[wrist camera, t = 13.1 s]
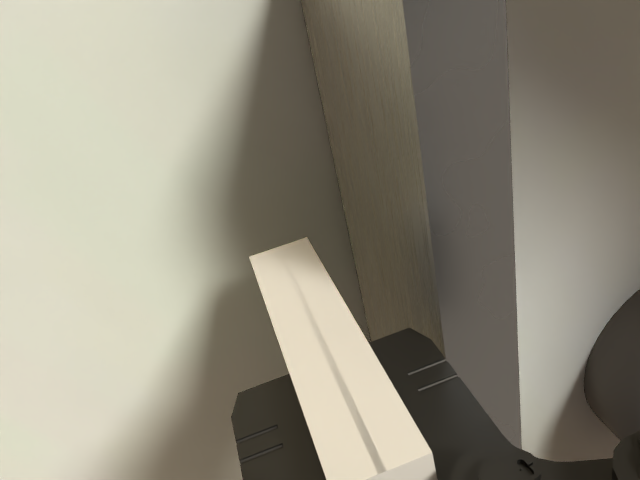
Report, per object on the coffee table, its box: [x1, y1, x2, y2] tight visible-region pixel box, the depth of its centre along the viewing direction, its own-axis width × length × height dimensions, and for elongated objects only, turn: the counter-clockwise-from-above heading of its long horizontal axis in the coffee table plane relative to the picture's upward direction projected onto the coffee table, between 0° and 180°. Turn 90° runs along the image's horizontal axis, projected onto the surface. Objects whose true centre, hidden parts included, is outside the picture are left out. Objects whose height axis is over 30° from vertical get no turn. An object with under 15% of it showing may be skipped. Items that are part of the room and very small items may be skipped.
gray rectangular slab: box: [301, 0, 522, 450], centre depth 13 cm, size 18×2×7 cm, turn 12°
